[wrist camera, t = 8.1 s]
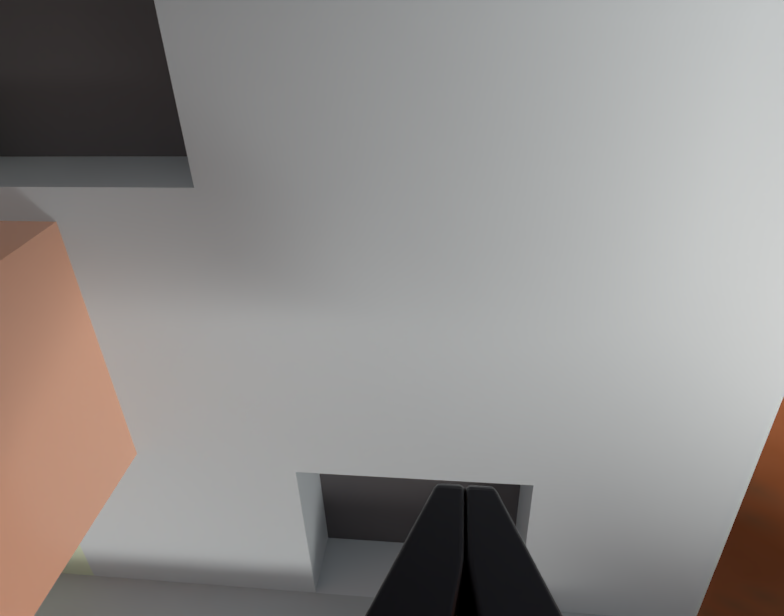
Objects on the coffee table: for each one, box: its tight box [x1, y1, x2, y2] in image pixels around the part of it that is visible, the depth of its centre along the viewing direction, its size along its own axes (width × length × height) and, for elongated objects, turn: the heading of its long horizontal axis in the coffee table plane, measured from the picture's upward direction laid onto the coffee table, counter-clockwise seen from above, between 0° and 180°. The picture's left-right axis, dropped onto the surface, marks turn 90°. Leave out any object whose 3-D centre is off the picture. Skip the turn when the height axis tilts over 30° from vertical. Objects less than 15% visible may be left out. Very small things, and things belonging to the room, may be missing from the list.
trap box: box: [0, 0, 784, 616], centre depth 12 cm, size 21×18×5 cm
